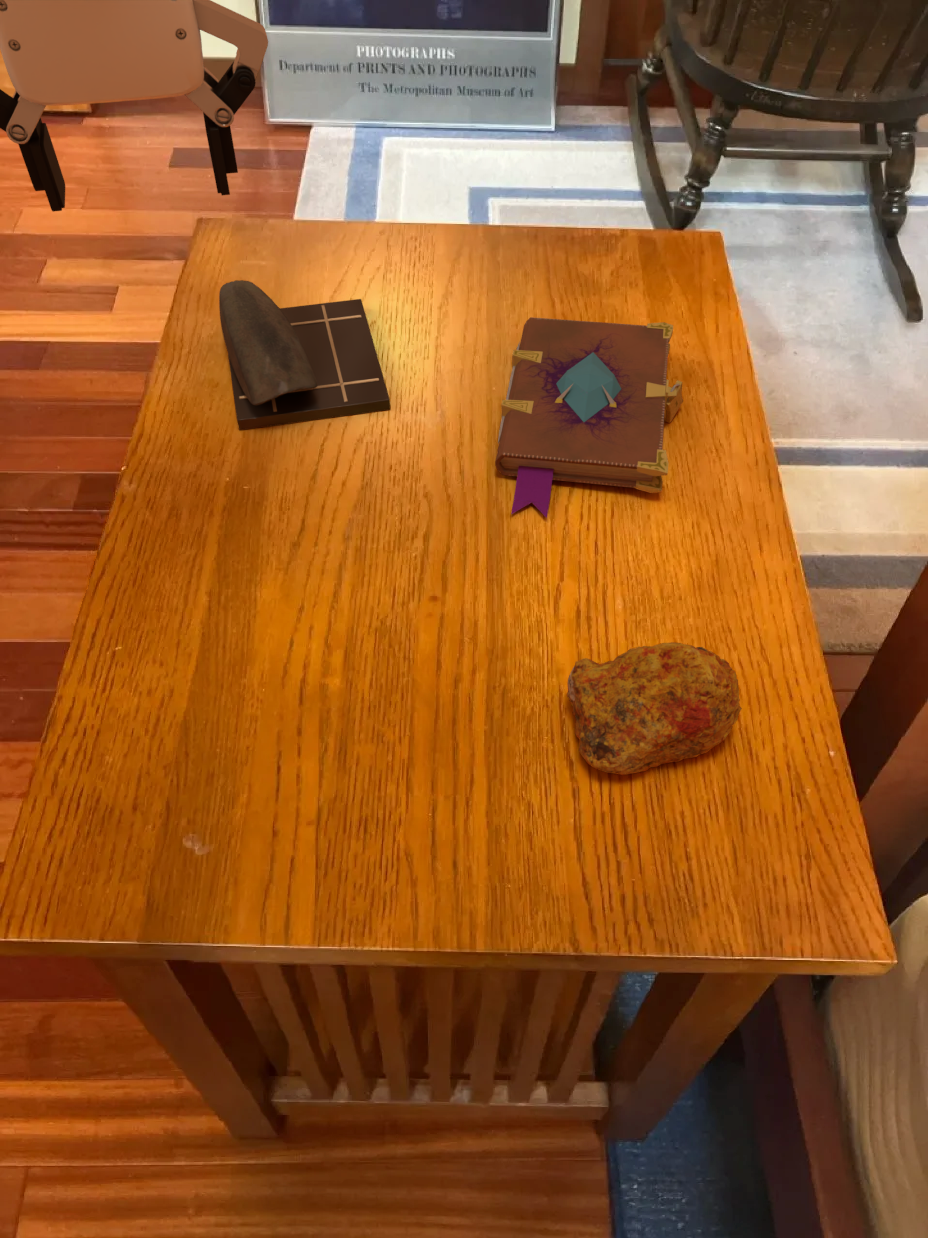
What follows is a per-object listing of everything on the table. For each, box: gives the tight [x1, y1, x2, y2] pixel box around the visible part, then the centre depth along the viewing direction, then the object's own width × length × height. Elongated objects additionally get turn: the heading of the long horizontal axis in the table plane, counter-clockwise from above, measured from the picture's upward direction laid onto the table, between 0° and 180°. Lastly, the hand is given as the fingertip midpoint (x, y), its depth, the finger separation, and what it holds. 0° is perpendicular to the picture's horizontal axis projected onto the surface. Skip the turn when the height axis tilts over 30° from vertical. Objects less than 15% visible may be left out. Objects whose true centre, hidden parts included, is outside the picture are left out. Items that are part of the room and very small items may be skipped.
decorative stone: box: [218, 279, 318, 405], centre depth 87 cm, size 17×6×4 cm, turn 24°
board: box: [227, 298, 391, 431], centre depth 90 cm, size 14×16×1 cm
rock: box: [566, 641, 743, 776], centre depth 65 cm, size 11×8×10 cm
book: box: [494, 316, 684, 519], centre depth 84 cm, size 16×25×5 cm, turn 171°
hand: (142, 191), depth 56 cm, fingers open, 9 cm apart
